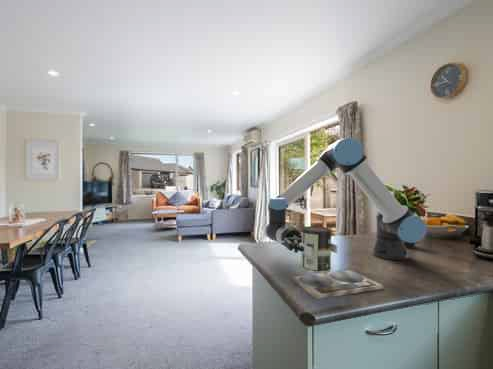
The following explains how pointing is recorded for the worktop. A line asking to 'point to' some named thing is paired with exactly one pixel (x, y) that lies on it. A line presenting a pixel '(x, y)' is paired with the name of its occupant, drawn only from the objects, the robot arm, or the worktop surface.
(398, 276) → the worktop surface
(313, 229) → the coffee can
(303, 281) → the board
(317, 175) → the robot arm
